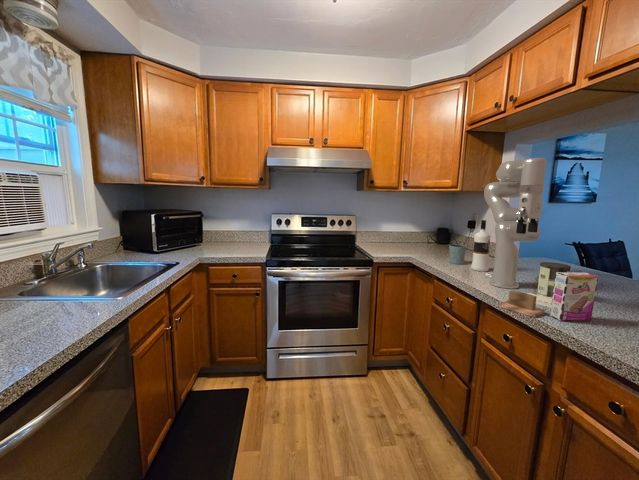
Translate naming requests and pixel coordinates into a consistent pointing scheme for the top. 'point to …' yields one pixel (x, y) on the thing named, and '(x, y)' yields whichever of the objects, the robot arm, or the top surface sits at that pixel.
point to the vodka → (481, 249)
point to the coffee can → (549, 277)
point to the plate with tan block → (522, 304)
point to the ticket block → (542, 300)
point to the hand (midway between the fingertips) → (526, 232)
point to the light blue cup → (457, 254)
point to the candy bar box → (573, 296)
